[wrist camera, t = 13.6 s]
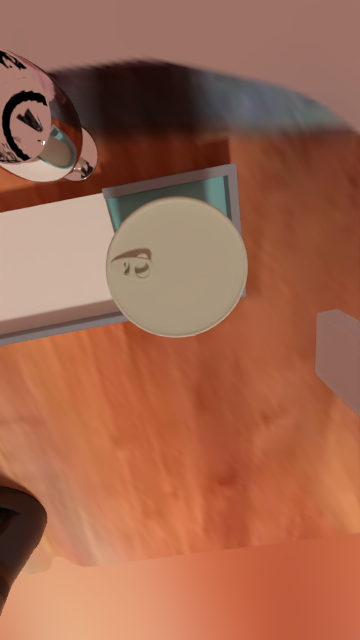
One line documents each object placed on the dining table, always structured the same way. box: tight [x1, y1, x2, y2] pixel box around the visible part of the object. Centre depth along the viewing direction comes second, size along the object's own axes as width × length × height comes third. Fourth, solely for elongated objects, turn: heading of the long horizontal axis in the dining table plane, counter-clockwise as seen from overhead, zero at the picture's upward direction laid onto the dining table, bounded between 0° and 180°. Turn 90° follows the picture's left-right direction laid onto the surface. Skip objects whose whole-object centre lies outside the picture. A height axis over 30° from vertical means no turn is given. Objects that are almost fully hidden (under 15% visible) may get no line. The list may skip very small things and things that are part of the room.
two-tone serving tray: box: [0, 163, 246, 346], centre depth 26 cm, size 27×13×3 cm, turn 100°
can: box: [106, 196, 248, 337], centre depth 22 cm, size 9×9×12 cm
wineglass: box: [0, 48, 98, 183], centre depth 18 cm, size 6×6×12 cm
